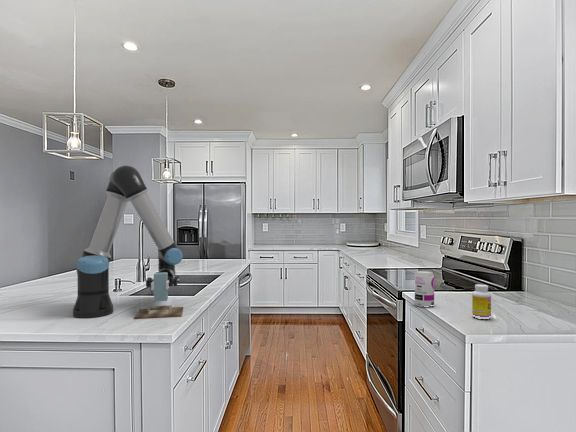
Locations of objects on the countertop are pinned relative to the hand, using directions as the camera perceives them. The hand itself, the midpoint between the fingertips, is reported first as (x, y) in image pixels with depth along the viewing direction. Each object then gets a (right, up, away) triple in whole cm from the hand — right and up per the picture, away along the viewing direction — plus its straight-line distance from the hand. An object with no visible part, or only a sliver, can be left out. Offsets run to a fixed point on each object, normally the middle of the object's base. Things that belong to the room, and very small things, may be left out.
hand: (159, 286), depth 162 cm
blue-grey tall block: (-1, -6, +5) cm, 8 cm away
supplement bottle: (+127, -12, -4) cm, 128 cm away
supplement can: (+112, -12, +18) cm, 114 cm away
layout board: (-1, -12, +5) cm, 13 cm away
